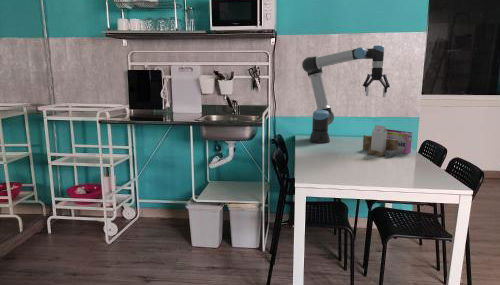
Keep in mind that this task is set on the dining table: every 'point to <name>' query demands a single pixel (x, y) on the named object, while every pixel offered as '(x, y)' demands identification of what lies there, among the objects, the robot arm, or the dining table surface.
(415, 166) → the dining table surface
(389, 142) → the walnut shelf
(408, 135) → the gum box
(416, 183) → the dining table surface
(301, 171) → the dining table surface
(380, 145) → the milk carton
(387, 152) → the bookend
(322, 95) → the robot arm
